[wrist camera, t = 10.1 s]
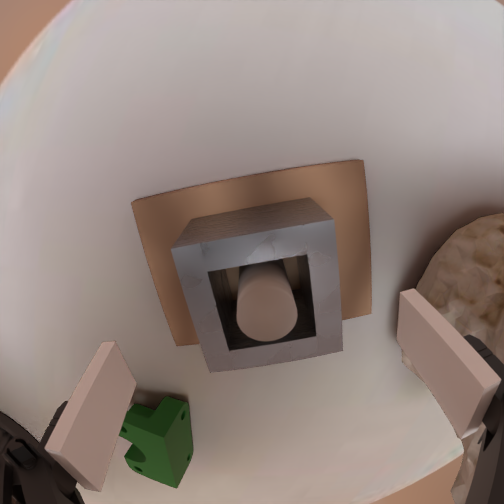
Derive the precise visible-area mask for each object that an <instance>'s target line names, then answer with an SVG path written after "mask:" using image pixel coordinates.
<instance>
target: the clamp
mask: <svg viewBox="0 0 504 504" xmlns="http://www.w3.org/2000/svg"><path fill="white" fill-rule="evenodd" d="M119 436H121V437H123V438H125V439H127V440H128V441H130V442H131V443H133V444H132V445H131V447H130V448H129V450H128V451H127V453H126V454H125V456H124V457H125V460H126V462H127V464H128V466H129V467H130V468H131V469H132V470H134V471H135V472H137V473H139V474H141V475H143V476H146V477H148V478H150V479H153V480H155V481H158V482H160V483H163V484H166V485H168V486H171V487H174V488H177V487H178V485H179V483H180V481H181V479H182V477H183V475H184V473H185V471H186V469H187V467H188V465H189V463H190V461H191V458H192V455H193V444H192V435H191V425H190V415H189V405H188V403H187V402H184V401H180V400H177V399H174V398H171V397H168V396H166V397H165V398H164V399H163V400H162V401H161V403H160V404H159V406H158V407H157V409H156V410H152V409H150V408H147V407H144V406H142V405H139V404H135V403H134V405H133V406H132V407H131V409H130V410H129V411H127V412H126V415H125V418H124V421H123V424H122V427H121V430H120V433H119Z"/></svg>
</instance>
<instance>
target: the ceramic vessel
mask: <svg viewBox="0 0 504 504" xmlns="http://www.w3.org/2000/svg"><path fill="white" fill-rule="evenodd" d="M416 291H417V292H418V293H419V294H420V295H421V296H423V297H424V298H425V299H426V300H427V301H428V302H429V303H430V304H431V305H432V306H433V307H434V308H435V309H436V310H437V311H438V312H439V313H440V314H441V315H442V316H443V317H444V318H445V319H446V320H447V321H448V322H449V323H450V324H451V325H452V326H453V327H454V328H455V329H456V330H457V331H458V332H459V334H460V335H461V336H462V337H464V336H466V335H469V334H470V335H472V336H474V337H476V338H478V339H480V340H481V341H482V342H483V343H484V344H485V345H486V346H487V348H489V349H490V350H491V351H492V352H493V355H494V354H495V355H496V357H497V358H498V359H499V360H500V361H501V362H502V363H503V364H504V213H499V214H494V215H489V216H484V217H480V218H478V219H476V220H475V221H473V222H471V223H470V224H468V225H466V226H464V227H462V228H460V229H458V230H456V231H455V232H454V233H453V234H452V235H451V236H450V238H449V239H448V240H447V241H446V242H445V243H444V244H443V245H442V247H441V248H440V249H439V250H438V251H437V252H436V253H435V255H434V256H433V257H432V259H431V261H430V263H429V265H428V267H427V269H426V270H425V272H424V274H423V276H422V278H421V280H420V281H419V282H418V285H417V287H416ZM402 362H403V363H404V365H405V366H406V367H407V368H408V369H410V370H411V371H413V372H414V373H415V374H416V375H417V376H418V377H419V378H420V379H421V380H422V381H423V382H424V380H423V379H422V377H421V376H420V374H419V373H418V371H417V370H416V368H415V367H414V365H413V364H412V362H411V361H410V359H409V358H408V356H407V355H406V354H405V352H404V351H403V349H402ZM424 383H425V382H424ZM433 396H434V395H433ZM445 415H446V414H445ZM450 423H451V422H450ZM453 428H454V427H453ZM485 428H486V426H485V425H484V423H483V422H481V424H480V426H479V428H478V430H477V431H476V432H474V433H472V434H471V435H469V436H467V437H465V438H463V439H461V441H462V444H463V447H464V454H463V459H462V464H461V467H460V470H459V473H458V475H457V477H456V480H455V482H454V485H453V487H452V489H451V493H452V497H453V500H454V502H455V504H465V502H466V499H467V496H468V492H469V489H470V486H471V483H472V479H473V476H474V472H475V468H476V465H477V461H478V456H479V452H480V448H481V443H482V441H481V443H480V444H477V443H478V441H479V439H480V437H481V435H482V433H483V432H484V430H485ZM454 430H455V429H454ZM455 433H456V435H457V437H458V438H460V437H459V436H458V434H457V432H456V431H455Z"/></svg>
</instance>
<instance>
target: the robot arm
mask: <svg viewBox="0 0 504 504" xmlns="http://www.w3.org/2000/svg"><path fill="white" fill-rule="evenodd" d="M396 341H397V342H398V343H399V345H400V346H401V348H402V349H403V351H404V352H405V354H406V355H407V356H408V358H409V359H410V361H411V362H412V364H413V365H414V367H415V368H416V370H417V371H418V373H419V374H420V376H421V377H422V379H423V380H424V382H425V383H426V385H427V386H428V388H429V389H430V391H431V392H432V394H433V395H434V397H435V399H436V400H437V402H438V403H439V405H440V406H441V408H442V410H443V411H444V413H445V414H446V416H447V418H448V419H449V421H450V422H451V424H452V426H453V427H454V429H455V431H456V432H457V434H458V436H459V437H460V439H463V438H465V437H467V436H469V435H471V434H472V433H474V432H476V431H477V430H478V428H479V426H480V424H481V422H483V423H484V425H485V426H486V428H485V430H484V432H483V433H482V435H481V437H480V439H479V441H478V443H477V444H480V443H481V441H482V443H481V448H480V452H479V456H478V461H477V465H476V468H475V472H474V476H473V479H472V483H471V486H470V489H469V492H468V496H467V499H466V502H465V504H504V364H503V363H502V362H501V361H500V360H499V359H498V358H497V357H496V355H495V354H494V355H493V352H492V351H491V350H490V349H489V348H487V346H486V345H485V344H484V343H483V342H482V341H481V340H480V339H478V338H476V337H474V336H472V335H470V334H469V335H466V336H464V337H462V336H461V335H460V334H459V332H458V331H457V330H456V329H455V328H454V327H453V326H452V325H451V324H450V323H449V322H448V321H447V320H446V319H445V318H444V317H443V316H442V315H441V314H440V313H439V312H438V311H437V310H436V309H435V308H434V307H433V306H432V305H431V304H430V303H429V302H428V301H427V300H426V299H425V298H424V297H423V296H421V295H420V294H419V293H418V292H417V291H416V290H415V289H414V288H413V289H410V290H406V291H402V292H400V299H399V316H398V329H397V340H396ZM136 385H137V383H136V382H135V380H134V378H133V376H132V374H131V372H130V370H129V368H128V366H127V364H126V362H125V360H124V358H123V356H122V354H121V352H120V349H119V347H118V345H117V343H116V341H110V342H102V344H101V345H100V347H99V349H98V350H97V352H96V354H95V355H94V357H93V359H92V360H91V362H90V364H89V366H88V367H87V369H86V371H85V373H84V374H83V376H82V378H81V380H80V381H79V383H78V385H77V387H76V389H75V390H74V392H73V394H72V396H71V398H70V400H69V401H65V402H64V403H63V404H62V405H61V406H60V407H59V408H58V409H57V411H56V413H55V414H54V416H53V419H52V420H51V422H50V424H49V425H50V426H48V428H47V429H46V431H45V433H44V435H43V437H42V439H41V441H40V443H38V442H37V441H36V440H35V439H34V438H33V437H32V436H31V435H30V434H29V433H28V432H27V431H25V430H24V429H23V428H22V427H21V426H19V425H18V424H17V423H15V422H14V421H13V420H11V419H10V418H8V417H7V416H5V415H4V414H2V413H1V412H0V504H85V503H84V501H83V499H82V497H81V495H80V492H79V491H78V490H77V488H76V487H75V486H76V483H77V482H78V483H79V484H80V485H81V486H83V487H84V488H85V489H88V490H93V491H98V492H101V490H102V486H103V483H104V480H105V476H106V473H107V470H108V467H109V463H110V460H111V457H112V454H113V451H114V448H115V445H116V442H117V439H118V436H119V433H120V430H121V427H122V424H123V421H124V418H125V415H126V412H127V409H128V407H129V404H130V401H131V398H132V395H133V393H134V390H135V387H136Z"/></svg>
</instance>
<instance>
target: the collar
mask: <svg viewBox="0 0 504 504" xmlns="http://www.w3.org/2000/svg"><path fill="white" fill-rule="evenodd" d="M171 252H172V255H173V259H174V262H175V266H176V269H177V273H178V276H179V280H180V283H181V286H182V289H183V293H184V296H185V299H186V302H187V306H188V309H189V312H190V315H191V318H192V321H193V324H194V327H195V330H196V333H197V336H198V339H199V342H200V345H201V348H202V351H203V354H204V357H205V359H206V362H207V365H208V368H209V371H210V373H211V372H220V371H229V370H237V369H244V368H251V367H258V366H265V365H271V364H277V363H283V362H289V361H295V360H300V359H305V358H311V357H316V356H321V355H325V354H330V353H335V352H339V351H343V341H342V314H341V295H340V280H339V266H338V254H337V243H336V233H335V223H334V219H333V218H332V217H331V216H330V215H329V214H328V213H327V212H326V211H325V210H323V209H322V208H321V207H320V206H319V205H318V204H317V203H316V202H315V201H314V200H313V199H312V198H310V197H308V198H302V199H296V200H290V201H284V202H278V203H273V204H267V205H261V206H256V207H250V208H245V209H239V210H234V211H229V212H224V213H218V214H213V215H208V216H203V217H198V218H193V219H191V220H190V222H189V223H188V224H187V226H186V227H185V229H184V230H183V232H182V233H181V235H180V236H179V237H178V239H177V240H176V242H175V243H174V245H173V246H172V248H171ZM294 256H296V258H297V265H298V273H299V280H300V288H301V289H295V290H292V294H293V297H294V301H295V304H296V308H297V314H298V316H297V321H296V324H295V326H294V327H293V329H292V330H291V331H290V332H289V333H288V334H287V335H285V336H284V337H282V338H280V339H277V340H273V341H258V340H255V339H252V338H250V337H248V336H247V335H246V334H244V333H243V332H242V330H241V329H240V327H239V325H238V323H237V300H238V299H237V300H233V298H232V294H231V290H230V286H229V282H228V277H227V273H226V268H232V267H237V266H243V265H249V264H255V263H260V262H266V261H271V260H277V259H283V258H288V257H294Z"/></svg>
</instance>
